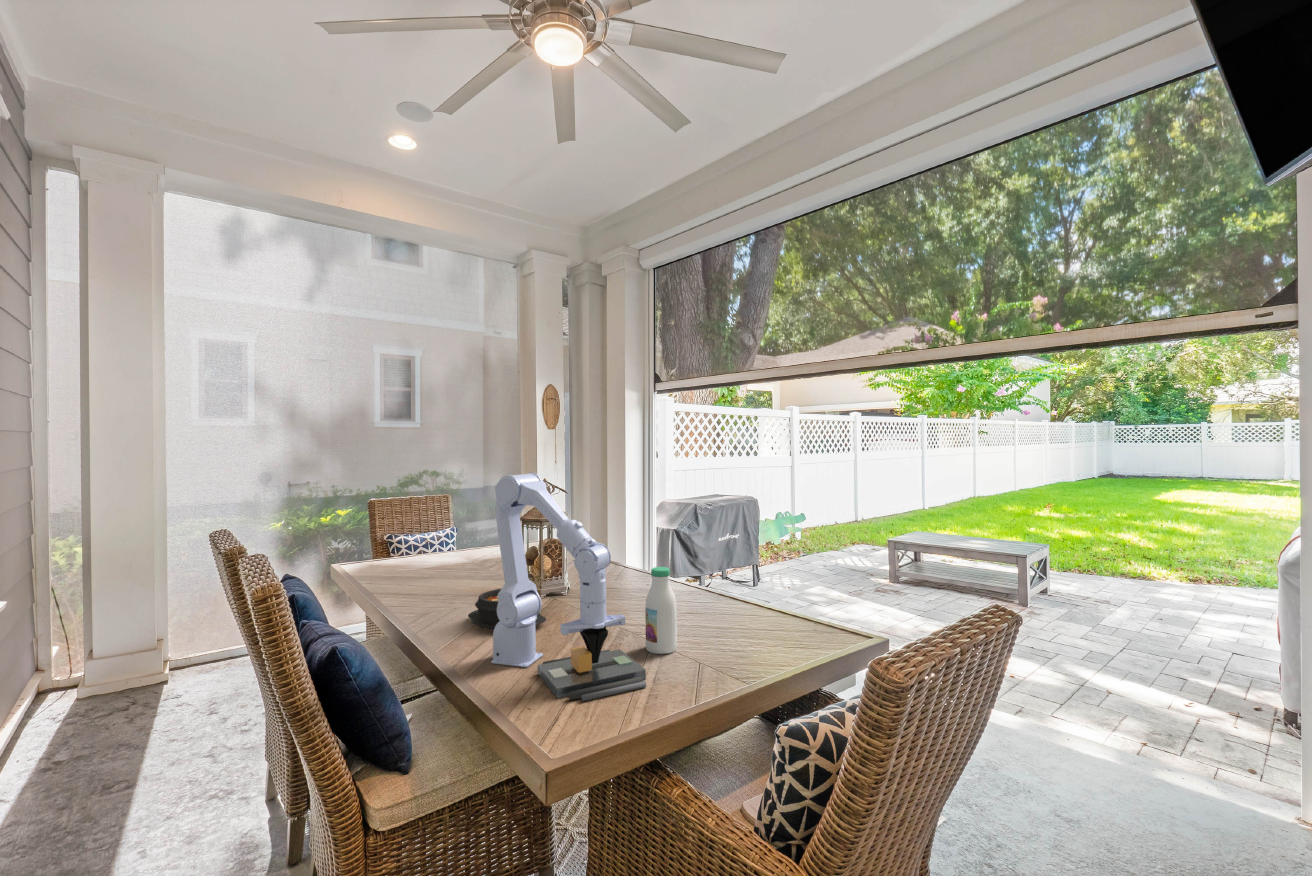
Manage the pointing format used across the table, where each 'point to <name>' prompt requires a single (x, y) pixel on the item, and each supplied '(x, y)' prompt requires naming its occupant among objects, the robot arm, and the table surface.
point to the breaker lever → (581, 659)
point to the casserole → (491, 611)
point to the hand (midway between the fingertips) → (593, 661)
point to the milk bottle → (661, 614)
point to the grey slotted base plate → (604, 687)
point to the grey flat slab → (589, 673)
